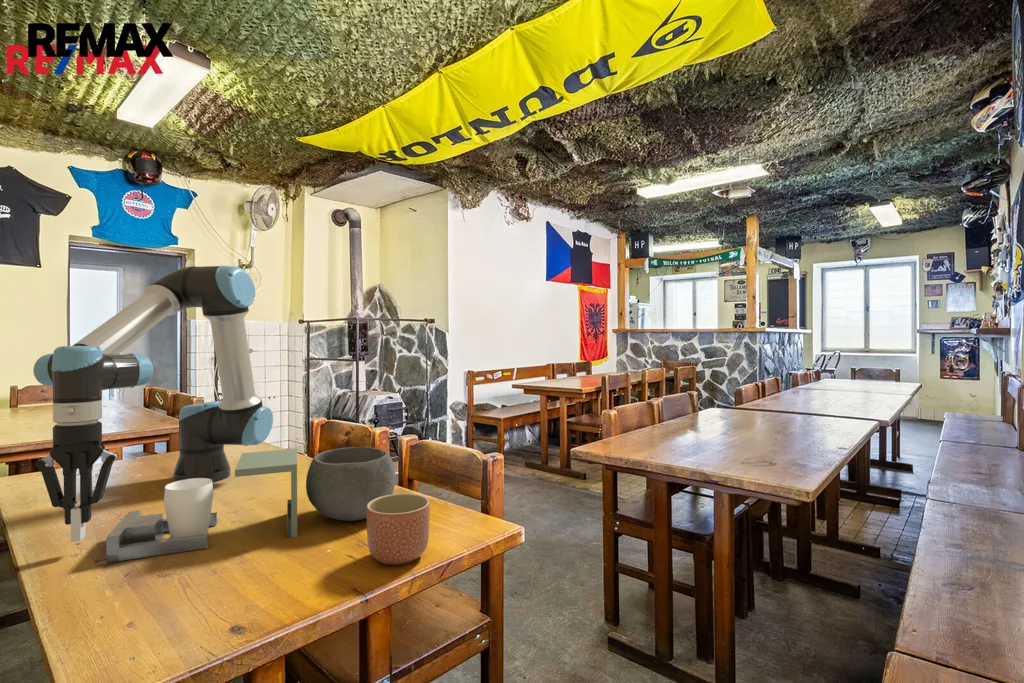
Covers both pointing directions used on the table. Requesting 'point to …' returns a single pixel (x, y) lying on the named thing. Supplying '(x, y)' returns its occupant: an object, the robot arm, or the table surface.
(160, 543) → the frame
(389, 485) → the bowl
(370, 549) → the planter
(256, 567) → the table surface
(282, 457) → the shelf
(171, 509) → the cup
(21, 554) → the table surface
